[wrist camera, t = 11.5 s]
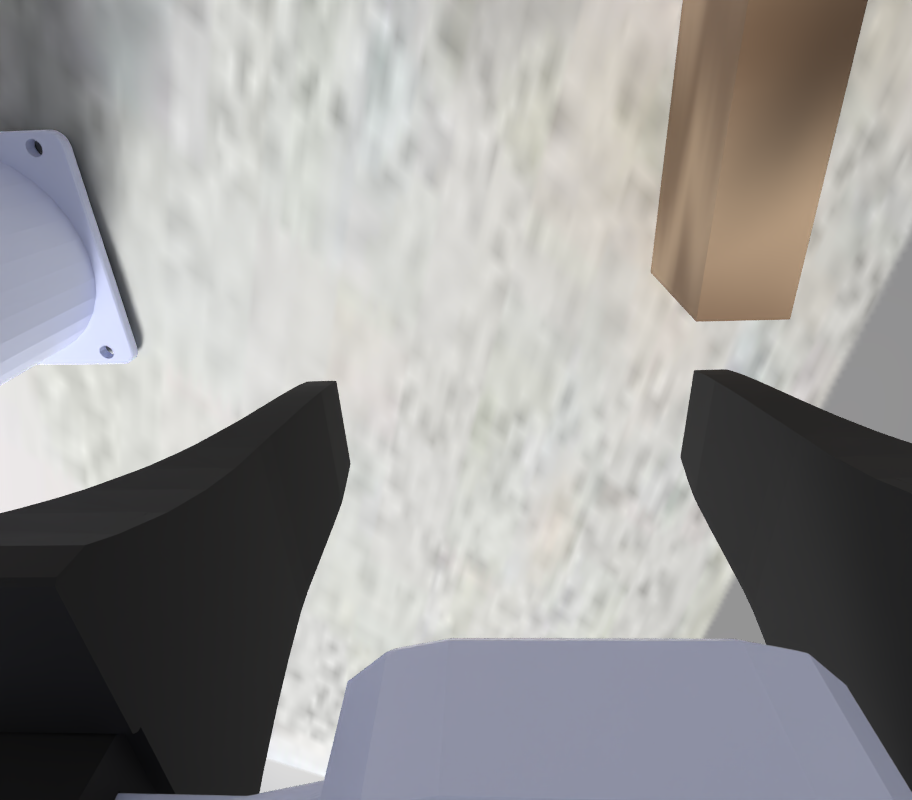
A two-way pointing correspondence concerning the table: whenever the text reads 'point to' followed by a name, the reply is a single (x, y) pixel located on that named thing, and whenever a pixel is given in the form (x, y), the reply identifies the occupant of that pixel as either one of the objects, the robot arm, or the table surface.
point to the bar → (749, 150)
